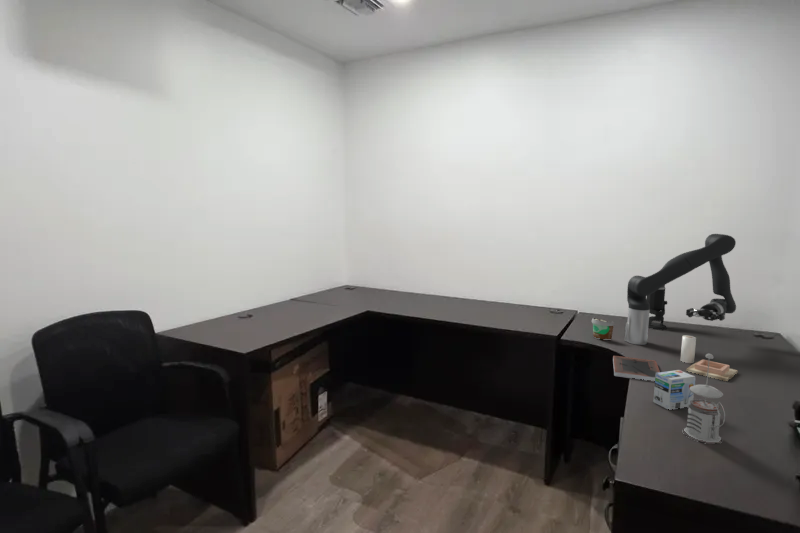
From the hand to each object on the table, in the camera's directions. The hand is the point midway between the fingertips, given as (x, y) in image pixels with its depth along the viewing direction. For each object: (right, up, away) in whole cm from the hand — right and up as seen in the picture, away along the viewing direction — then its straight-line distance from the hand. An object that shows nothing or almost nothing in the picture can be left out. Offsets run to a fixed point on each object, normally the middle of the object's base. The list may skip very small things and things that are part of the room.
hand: (700, 316), depth 198 cm
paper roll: (-9, -19, -5) cm, 22 cm away
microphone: (+9, -12, +51) cm, 53 cm away
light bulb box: (-42, -25, -47) cm, 68 cm away
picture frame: (-37, -21, -15) cm, 45 cm away
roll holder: (-8, -21, -18) cm, 28 cm away
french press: (-46, -28, -69) cm, 87 cm away
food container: (-32, -15, +29) cm, 46 cm away
